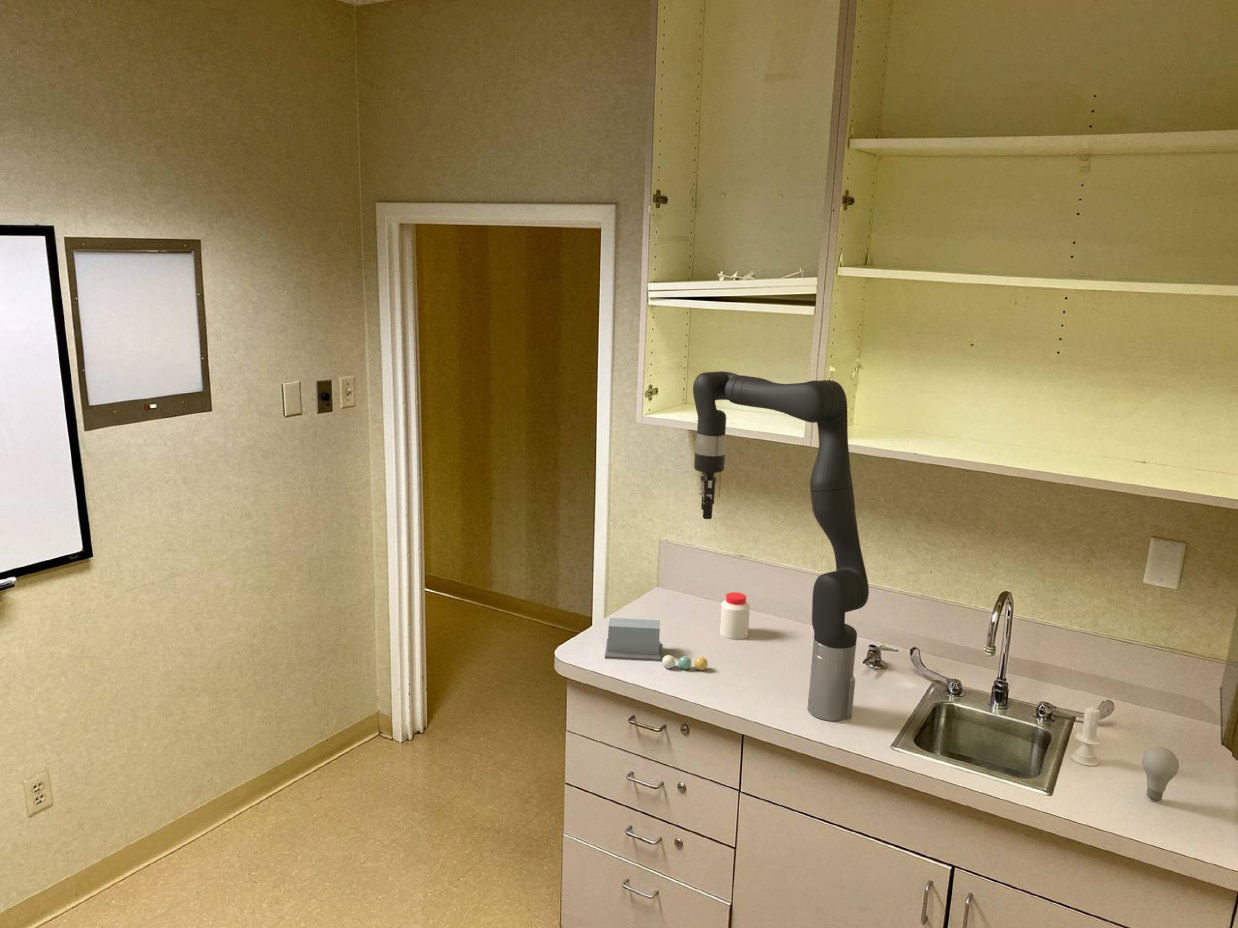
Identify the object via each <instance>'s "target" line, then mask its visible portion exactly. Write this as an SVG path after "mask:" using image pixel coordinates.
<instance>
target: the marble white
mask: <svg viewBox="0 0 1238 928" xmlns="http://www.w3.org/2000/svg"><path fill="white" fill-rule="evenodd" d="M661 663H662V666H663V667H664V668H665V669H672V668H673V667H675V665H676V660H675V657H674V656H673V655H670V654H667V655H664V657H663V658H662V660H661Z"/></svg>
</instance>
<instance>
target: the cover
mask: <svg viewBox="0 0 1238 928" xmlns="http://www.w3.org/2000/svg"><path fill="white" fill-rule="evenodd" d="M660 628H661V620H658V619H640V618H623V617H609V621H608V628H607V629H608V633H607V639H608V652H620V653H639V654H659V641H660V636H661V635H660V633H661V629H660Z"/></svg>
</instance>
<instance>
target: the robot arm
mask: <svg viewBox="0 0 1238 928" xmlns="http://www.w3.org/2000/svg"><path fill="white" fill-rule="evenodd" d="M692 385H693V386H692V394H693V400H694V404H695V409H696V415H697V428H696V429H697V431H696V436H695V437H696V438H695V446H694V447H695V448H694V464H693V465H694V466H693V468H694V470H695V471H697V472H701V473H702V475H700V476H699V477H700V478H699V481H700V486H699V487H700V493H701V505H700V506H701V510H702V518H703V519H704V520H712V518H713V505H714V504H715V497H716V495H717V494H716V489H717V484H718V482H717V480H718V479H717V476H715V473H722V472H723V471H725V463H726V461H725V460H726V459H725V458H726V444H727V442H726V431H727V429H726V428H727V415H726V413H725V411H723V410H721V409H717V405H716V401H723V400H726V401H729V402H730V403H731V404H735V405H739V406H745V407H751V408H758V409H765V410H771V411H776V412H778V413H779V412H780V413H783V414H786V415H788V416H790V417H793V418H795V419H798V420H801V421H803V422H807V423H809V424H810V423H811V424H815V423H816V426H817V432H818V450H817V454H816V459H815V460H814V464H813V467H812V471H811V475H810V480H809V489H810V490H809V491H810V500H811V509H812V512H813V516H814V518H815V519H816V522H817V523H818V525H819V527H820V528H821V530H822V531H823V532H824V534H825V535H826V537H827V539H828V540H829V542H830V544H831V546H832V550H833V554H834V559H835V569H836V570H834V571H830V572H825V573H822V574H821V575H818V577H817V578H816V580H815V582H814V584H813V588H812V601H811V605H812V606H811V607H812V608H811V626H812V628H813V629H812V630H813V642H812V643H813V645H812V658H811V666H810V677H809V689H808V699H807V710H808V712H809V713H810V714H811V715H812V716H813V717H816V718H818V719H820V720H825V721H831V722H837V721H838V722H839V721H843V720H847V719H852V717H853V716H852V714H853V706H854V705H853V704H854V697H855V695H854V694H855V684H856V678H855V676H854V669H855V659H856V649H857V639H858V633H857V630H856V629H855V627H853V626H852V625H850V624H849V623H846V613H849V612H853V611H857V610H859V609H861V608H863V607H864V606H865V605H866V604H867V602H868V600H869V595H870V594H869V593H870V592H869V591H870V588H869V580H868V577H867V572H866V571H867V570H866V567H865V562H864V558H863V554H862V553H863V552H862V549H861V542H860V536H859V529H858V528H859V527H858V523H857V514H856V503H855V502H856V501H855V494H854V485H853V479H852V471H851V462H850V450H849V439H848V438H849V437H848V436H849V435H848V433H849V432H848V430H849V429H848V427H849V426H848V401H847V399H848V398H847V395H846V392H845V390H844V388H843V387H842V385H841V384H840V383H839V382H837V381H835V380H831V379H827V380H825V379H824V380H823V379H822V380H810V381H806V382H805V381H804V382H797V383H778V382H774V381H772V380H769V379H766V378H761V377H755V376H750V375H741V374H737V373H734V372H730V371H724V370H723V371H719V370H718V371H707V372H701V373H699V374H698V375H697V376H696V377H695V380H694V381H693V384H692Z"/></svg>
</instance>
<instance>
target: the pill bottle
mask: <svg viewBox="0 0 1238 928" xmlns="http://www.w3.org/2000/svg"><path fill="white" fill-rule="evenodd" d="M750 610H751V605H750V603H748V601H747V595H746V594H744V593H741V592H732V591H731V592H727V593H726V595H725V599H724V600H723V601H722V602H721V604H720V619H719V634H720V636H721V637H723V638H725V639H727V640H736V641H737V640H743V639H744V640H745V639H746V638H747V637H748V636H749V625H750V623H749V622H750V614H751V612H750Z"/></svg>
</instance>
